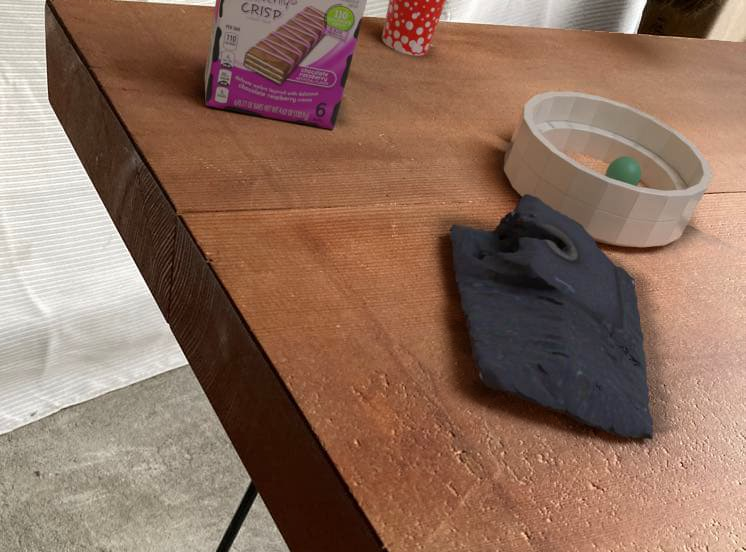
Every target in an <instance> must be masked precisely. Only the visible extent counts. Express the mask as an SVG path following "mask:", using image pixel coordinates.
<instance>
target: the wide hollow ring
mask: <svg viewBox="0 0 746 552" xmlns="http://www.w3.org/2000/svg"><path fill="white" fill-rule="evenodd" d="M564 152H569V153H574V154H581V155H585V156H588V157H591V158H594V159H597V160H601V161H604V162H605V163H608V164H610V163H611V162H612V161H614V160H615V159H617V158H619V157H631V158H633V159H635V160H636V161H637V162H638V164H639V165H640V168H641V179H640V181H641V183H643V184H644V185H645V186H646V187H643V186H638V185H637V186H634V185H631V184H628V183H624V182H621V181H618V180H615V179H611V178H609V177H607V176H606V175H604V174H603V173H600V172H598V171H596V170H594V169H592V168H589V167H587V166H585V165H583V164H581V163H579V162H578V161H577V160H575V159H573V158H571V157H570V156H568V155H567V154H565V153H564ZM503 157H504V159H503V160H504V161H503V171H504V173H505V175H506V178H507V179H508V181H509V183H510V185H511V187H512V188H513V190H515V191H516V192H517V194H519V195H520V197H521V198H522V197H523V196H524V195H525V194H530V195H531V196H535V197H538V198H539V199H540V200H542V201H543V202H544V203H545V204H547V205H548V206H550V207H551V208H552V209H554V210H556V211H558V212H560V213H561V214H563V215H566V216H568V217H569V218H571V219H573V220H575V221H576V222H578V223H579V224H581V225H582V226H583V227H584V229H585V230H586V231H587V232H588V233H589V234H590V235H591V236H592V237H593V238H594V239H595V242H597V243H601V244H606V245H609V246H617V247H624V248H651V247H661V246H666V245H668V244H670V243H673V242H674V241H677V240H678V239H680V238H681V236H682V234H683V233H684V231H685V229H686V227H687V226H688V224H689V222H690V220H691V219H692V216H693V215H694V213H695V211H696V209H697V207H698V206H699V204H700V202H701V200H702V198H703V196H704V195H705V193H706V192H707V190H708V188H709V186H710V184H711V181H712V179H713V172H712V169H711V166H710V165H711V164H710V162H709V161H708V159H706V157H705V155H704V154H703V153H702V152H701V151H700V150H699V148H698V147H697V146H696V145H695V144H694V143H693V142H691V141H690V140H689V139H688V138H687V137H685V136H684V135H683V134H682V133H680V131H678V130H676V129H675V128H673V127H671V126H669V125H668V124H666V123H664V122H662V120H659V119H657V118H656V117H654V116H653V115H650V114H648V113H646V112H643V111H641V110H639V109H637V108H635V107H632V106H630V105H628V104H625V103H622V102H620V101H615V100H612V99H610V98H606V97H603V96H600V95H596V94H595V95H594V94H589V93H584V92H577V91H560V90H559V91H555V90H554V91H553V90H551V91H547V92H542V93H539V94H535V95H533V96H532V97H531V98H530V99H529V100H527V102H525V104H524V105H523V107H522V109H521V113H520V115H519V117H518V120H517V123H516V125H515V128H514V131H513V133H512V136H511V139H510V141H509V143H508V146H507V149H506V152H505V154H504V156H503Z"/></svg>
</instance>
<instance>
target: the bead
mask: <svg viewBox="0 0 746 552" xmlns="http://www.w3.org/2000/svg"><path fill="white" fill-rule="evenodd" d="M605 176H607V177H609V178H611V179H615V180H618V181H621V182H624V183H628V184H631V185H634V186H637V187H638V185H639V183H640V181H641V180H640V179H641V168H640V165H639V164H638V162H637V161H636V160H635V159H633V158H631V157H619V158H617V159H615V160H614V161H612V162H611V163H609V165H608V166H607V168H606V171H605Z"/></svg>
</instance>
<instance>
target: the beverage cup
mask: <svg viewBox="0 0 746 552" xmlns="http://www.w3.org/2000/svg"><path fill="white" fill-rule="evenodd" d="M446 2H447V0H388V5H387V9H386V14H385V20H384V24H383V29H382V35H381V39H382V42H383V43H384V44H385V45H386V46H387V47H389V48H391V49H392V50H394V51H396V52H399V53H402V54H406V55H409V56H419V57H420V56H423V55H426V54H427V53H428V52H429V49H430V46H431V44H432V41H433V38H434V37H435V32H436V30H437V27H438V24H439V21H440V18H441V17H442V16H441V15H442V14H443V10H444V8H445V6H446Z"/></svg>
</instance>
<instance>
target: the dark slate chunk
mask: <svg viewBox="0 0 746 552" xmlns="http://www.w3.org/2000/svg"><path fill="white" fill-rule="evenodd" d="M449 232H450V235H449V239H450V242H451V250H452V259H453V271H454V273H455V276H454V280H455V282H456V283H457V287H456V289H457V291H458V293H459V295H460V299H461V300H460V304H461V312H462V314H463V317H464V318H465V327H466V328H467V332H468V336H469V339H470V345H471V349H472V350H471V351H472V359H473V360H472V361H473V364H474V366H475V368H476V372H477V374H478V377H479V378H480V381H481V382H482V383H483V384H484V385H485V387H487V388H491V389H495V390H498V391H501V392H503V393H506V394H509V395H513V396H514V397H516V398H518V399H520V400H523V401H525V402H530V403H534V404H536V405H538V406H540V407H542V408H545V409H547V410H552V411H555V412H556V411H557V412H560V413H562V414H563V415H565V416H567V417H569V418H572V419H573V420H574V421H576V422H577V423H581V424H584V425H586V426H589V427H594V428H596V429H598V430H601V431H604V432H607V433H610V434H612V435H614V436H617V437H621V438H624V437H628V438H632V439H638V438H643V439H647V440H653V438H654V428H653V424H654V421H653V416H652V412H651V410H650V407H649V403H650V402H651V401H650V400H651V399H650V395H649V393H650V389H649V386H648V373H647V359H646V353H645V349H644V333H643V331H642V326H641V315H640V311H639V308H638V306H639V305H638V296H637V294H636V284H635V281H636V280H635V278H634V277H632V276H631V275H630V274H629V273H628V272H627V270H626V269H625V268H623V267H622V266H617V265H616V264H615V263H614V262H613V261H612V259H610V258H609V257H608V255H607V254H605V253H604V252H603V250H602V249H600V247H598V244H597V243H596V242H597V241H595V239H594V238H593V237H592V236H591V235H590V234H589V233H588V232H587V231H586V230H585V229H584V227H583V226H582V225H581V224H579V223H578V222H576V221H575V220H573V219H571V218H569V217H568V216H566V215H563V214H561V213H560V212H558V211H556V210H554V209H552V208H551V207H550V206H548V205H547V204H545V203H544V202H543V201H542V200H540V199H539V198H538V197H535V196H531V195H530V194H525V195H524V196H523V197H522V196H521V198H520V199H519V200H518V202H517V204H516V206H515V207H514V209H513V210H512V211H508V213H506V214H505V215H504V216H503V217H502V218H500V220H499V224H498V225H496V227H495V229H493V230H486V229H482V228H481V229H477V228H474V227H472V226H467V225H461V224H455V223H453V224H452V225H451V226H450V228H449Z"/></svg>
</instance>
